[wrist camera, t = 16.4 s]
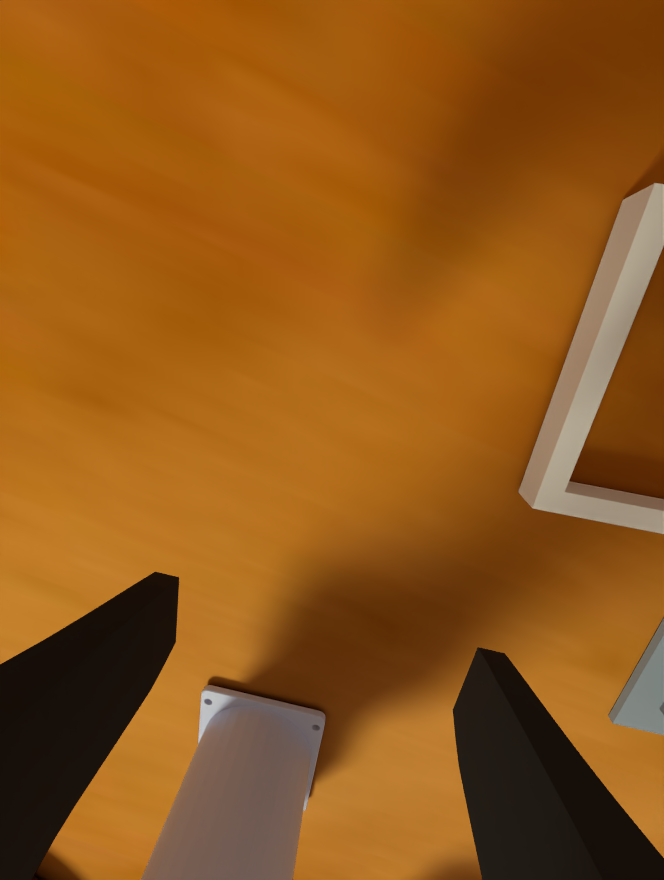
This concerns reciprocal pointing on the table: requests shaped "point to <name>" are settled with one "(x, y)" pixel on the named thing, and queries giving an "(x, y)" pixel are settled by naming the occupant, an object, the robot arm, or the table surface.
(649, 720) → the slate pad
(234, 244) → the table surface
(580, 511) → the white angled bracket
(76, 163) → the table surface
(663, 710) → the lead plug
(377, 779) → the table surface
